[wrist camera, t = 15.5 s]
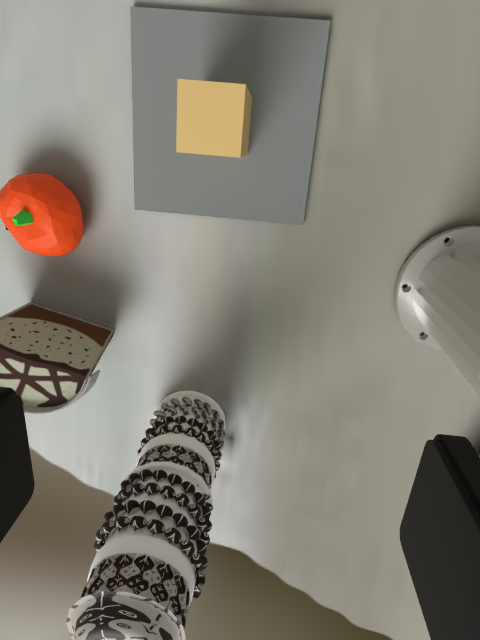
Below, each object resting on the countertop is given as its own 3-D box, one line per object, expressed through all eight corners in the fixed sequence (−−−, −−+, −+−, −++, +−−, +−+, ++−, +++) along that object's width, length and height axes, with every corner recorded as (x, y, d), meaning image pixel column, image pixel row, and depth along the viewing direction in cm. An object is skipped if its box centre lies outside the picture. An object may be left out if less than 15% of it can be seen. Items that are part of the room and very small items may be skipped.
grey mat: (329, 22, 34) (330, 20, 34) (302, 223, 40) (303, 224, 40) (132, 8, 35) (130, 6, 34) (136, 208, 41) (134, 209, 40)
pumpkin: (66, 261, 44) (28, 284, 39) (8, 198, 42) (-41, 213, 37) (111, 221, 41) (77, 240, 36) (51, 151, 39) (5, 159, 34)
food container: (10, 345, 48) (-52, 394, 39) (17, 297, 46) (-48, 336, 36) (116, 380, 49) (79, 435, 40) (127, 334, 46) (91, 382, 37)
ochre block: (252, 97, 36) (245, 84, 28) (247, 154, 38) (240, 157, 30) (199, 93, 36) (177, 78, 28) (197, 149, 38) (176, 152, 30)
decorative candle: (238, 445, 51) (209, 695, 28) (166, 457, 53) (82, 704, 30) (217, 380, 48) (163, 603, 25) (141, 395, 49) (24, 618, 26)
